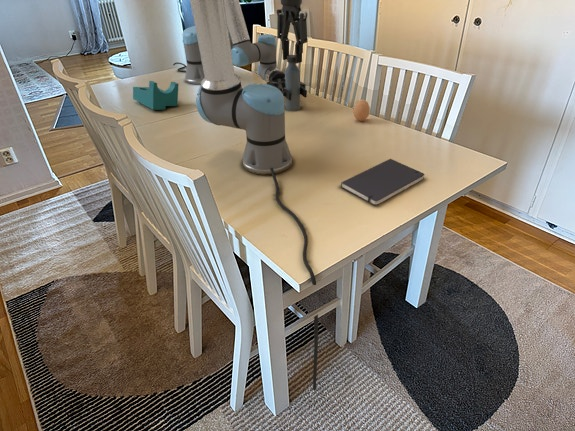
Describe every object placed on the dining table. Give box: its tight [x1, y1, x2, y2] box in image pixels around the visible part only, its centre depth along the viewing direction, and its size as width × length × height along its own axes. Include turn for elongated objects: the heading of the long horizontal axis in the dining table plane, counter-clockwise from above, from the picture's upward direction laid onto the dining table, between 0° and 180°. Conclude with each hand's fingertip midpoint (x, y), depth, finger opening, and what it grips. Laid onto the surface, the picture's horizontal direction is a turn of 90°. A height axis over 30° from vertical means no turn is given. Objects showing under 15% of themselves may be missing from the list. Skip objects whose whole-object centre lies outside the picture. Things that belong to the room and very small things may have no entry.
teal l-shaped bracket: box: [132, 80, 179, 111], centre depth 168 cm, size 18×11×10 cm, turn 43°
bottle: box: [284, 62, 301, 112], centre depth 158 cm, size 6×6×20 cm
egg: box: [352, 99, 371, 122], centre depth 149 cm, size 6×6×8 cm
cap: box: [286, 54, 295, 64], centre depth 152 cm, size 4×4×2 cm
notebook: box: [340, 158, 425, 206], centre depth 114 cm, size 13×2×21 cm
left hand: (298, 95), depth 156 cm, fingers closed on bottle, 6 cm apart
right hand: (292, 60), depth 153 cm, fingers open, 6 cm apart
